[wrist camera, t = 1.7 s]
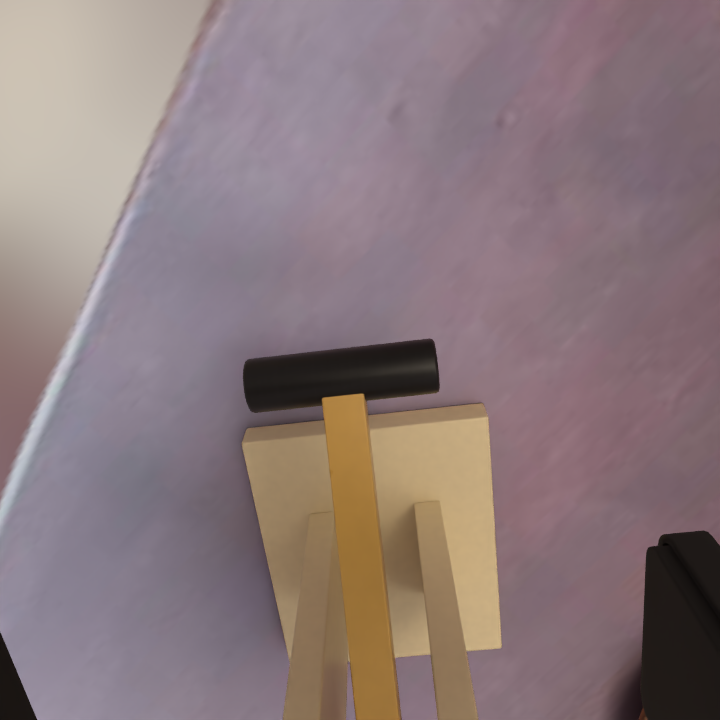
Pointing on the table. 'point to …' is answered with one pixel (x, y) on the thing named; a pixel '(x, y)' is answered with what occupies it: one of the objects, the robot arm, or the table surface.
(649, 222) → the table surface
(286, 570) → the bracket
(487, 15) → the table surface
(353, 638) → the lever
